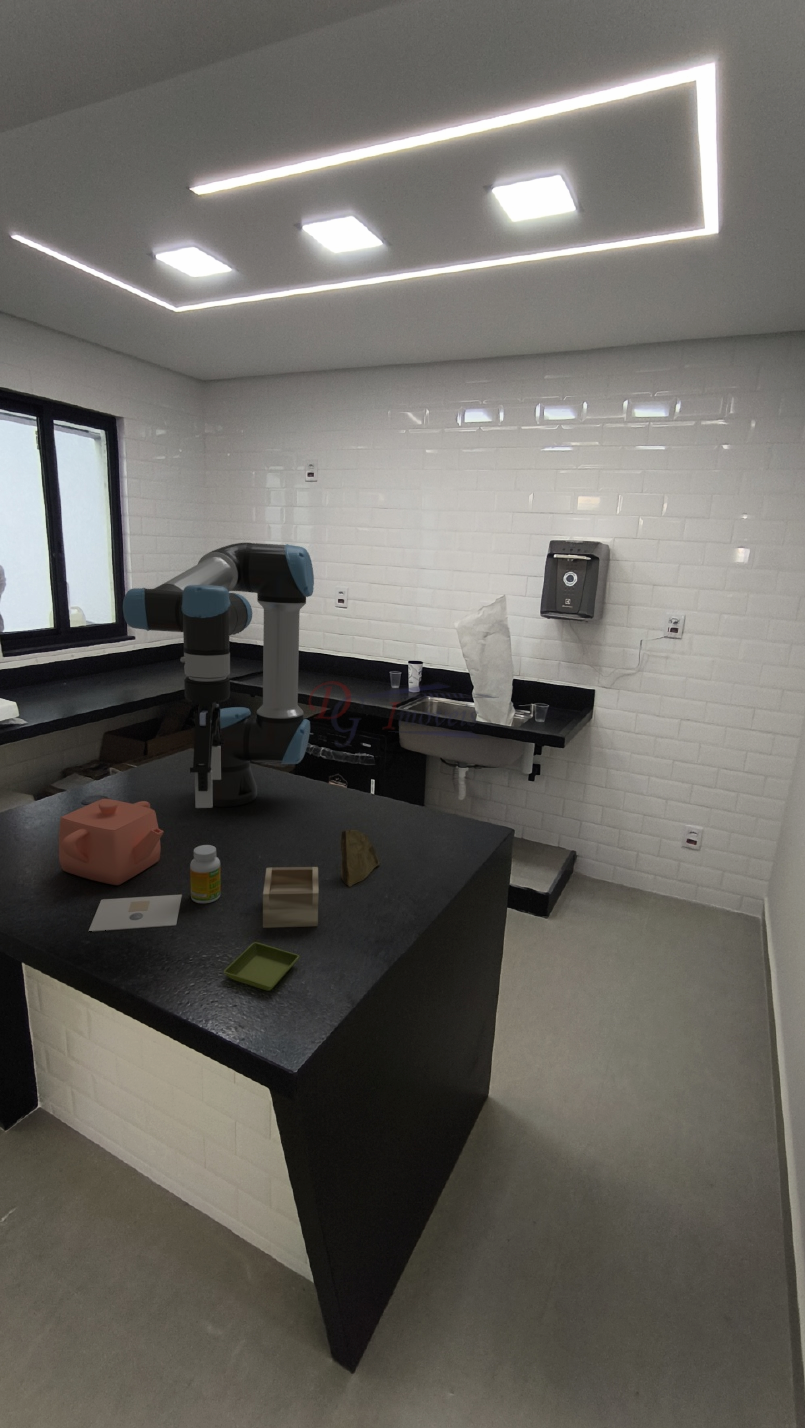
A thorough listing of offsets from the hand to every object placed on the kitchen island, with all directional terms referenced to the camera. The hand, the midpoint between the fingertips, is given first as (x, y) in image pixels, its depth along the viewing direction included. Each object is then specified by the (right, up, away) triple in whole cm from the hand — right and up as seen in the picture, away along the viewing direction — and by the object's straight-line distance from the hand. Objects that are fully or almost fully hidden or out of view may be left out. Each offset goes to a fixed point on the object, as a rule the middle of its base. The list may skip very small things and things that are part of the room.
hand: (209, 792), depth 116 cm
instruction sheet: (-12, -21, -1) cm, 25 cm away
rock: (+26, -19, +17) cm, 37 cm away
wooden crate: (+14, -22, +2) cm, 27 cm away
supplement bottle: (-2, -20, +5) cm, 21 cm away
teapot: (-22, -17, +13) cm, 31 cm away
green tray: (+13, -27, -15) cm, 33 cm away
